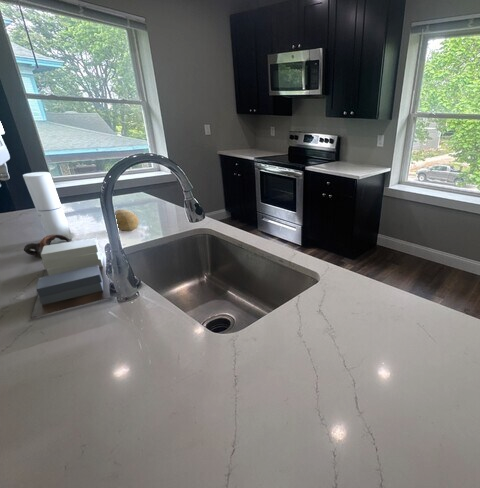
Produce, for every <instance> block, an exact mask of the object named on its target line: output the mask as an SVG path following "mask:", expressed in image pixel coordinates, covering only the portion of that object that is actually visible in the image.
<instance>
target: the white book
mask: <svg viewBox="0 0 480 488" xmlns="http://www.w3.org/2000/svg"><path fill="white" fill-rule="evenodd" d="M98 246H99V241H98V238H97V237H90V238H85V239H78V240H73V241H72V240H71V242H67V241H64V242H59V243H52V244H50V245H47V246H44V247H43V250H42V252H41V253H40V257H41V259H42V261H44V262H46V261H52V260H57V259H63V258H68V257H74V256H79V255H85V254H90V253H96V252H98Z"/></svg>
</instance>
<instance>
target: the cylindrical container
mask: <svg viewBox="0 0 480 488" xmlns="http://www.w3.org/2000/svg"><path fill="white" fill-rule="evenodd" d="M22 178H23V181H24V182H25V185H26V187H27V190H28V192H29V195H30V197H31V200H32V202H33V205H34V208H35V210H36V213H37V216H38V218H39V220H40V223H41V225H42V228H43V230H44V233H45V237H46V236H49V235H63V236H65V237H67V238H69V239H70V240H72V239H73V234H72V232H71V231H72V230H71V228H70V225H69V222H68V220H67V218H66V215H65V211H64V209H63V206H62V203H61V200H60V198H59V194H58V191H57V188H56V185H55V184H54V181H53V177H52V175H51V172H49V171H35V172H27V173H24V174H22ZM65 242H67V241H66V240H60V239H59V238H55V239H54V240H52V241H51V243H50V244H59V243H65Z"/></svg>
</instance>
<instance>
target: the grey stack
mask: <svg viewBox="0 0 480 488" xmlns="http://www.w3.org/2000/svg"><path fill="white" fill-rule="evenodd" d="M99 291H103V279H102V276H101V272H100V269H99V266H98V265H95V266H91V267H86V268H82V269H77V270H72V271H68V272H63V273H59V274H54V275H50V276H45V277H44V276H41V277H38V279H37V283H36V292H37V295H38V294H39V297H38V298H39V300H40V302H41V305H45V304H49V303H53V302H58V301H62V300H66V299H70V298H74V297H78V296H83V295H87V294H91V293H95V292H99Z"/></svg>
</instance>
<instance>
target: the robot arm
mask: <svg viewBox="0 0 480 488" xmlns="http://www.w3.org/2000/svg"><path fill="white" fill-rule="evenodd" d="M1 122H2V121H0V181H8V180H9V179H10V174H9V172H8V165H7V162H8V161H9V160H10V159H11V155H10V153H9V150H8V148H7V145H6V144H5V141H4V139H3V137H2V135H5V133H6V131H5V130H4V128H3V125H2V123H1ZM1 187H2V184H1V183H0V188H1Z"/></svg>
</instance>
